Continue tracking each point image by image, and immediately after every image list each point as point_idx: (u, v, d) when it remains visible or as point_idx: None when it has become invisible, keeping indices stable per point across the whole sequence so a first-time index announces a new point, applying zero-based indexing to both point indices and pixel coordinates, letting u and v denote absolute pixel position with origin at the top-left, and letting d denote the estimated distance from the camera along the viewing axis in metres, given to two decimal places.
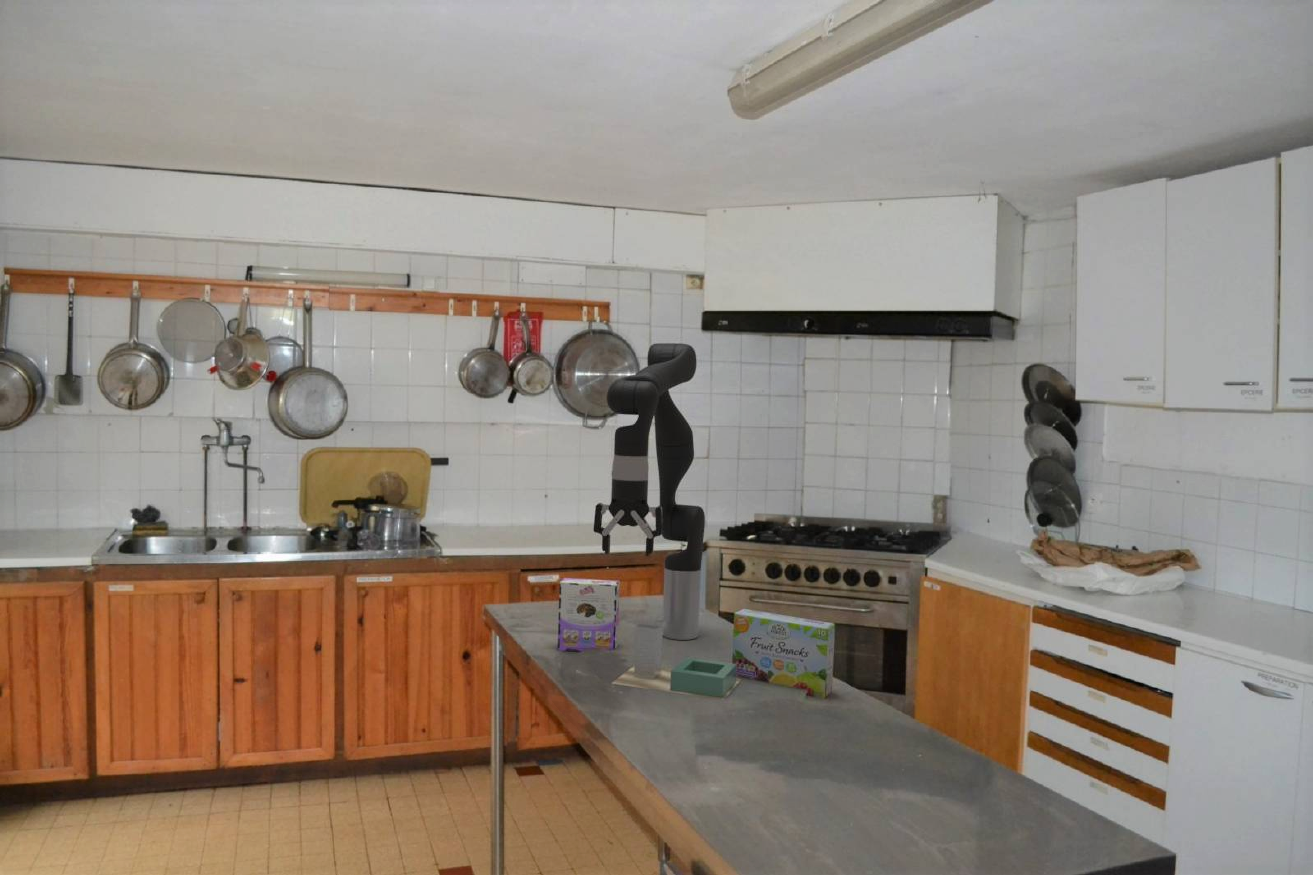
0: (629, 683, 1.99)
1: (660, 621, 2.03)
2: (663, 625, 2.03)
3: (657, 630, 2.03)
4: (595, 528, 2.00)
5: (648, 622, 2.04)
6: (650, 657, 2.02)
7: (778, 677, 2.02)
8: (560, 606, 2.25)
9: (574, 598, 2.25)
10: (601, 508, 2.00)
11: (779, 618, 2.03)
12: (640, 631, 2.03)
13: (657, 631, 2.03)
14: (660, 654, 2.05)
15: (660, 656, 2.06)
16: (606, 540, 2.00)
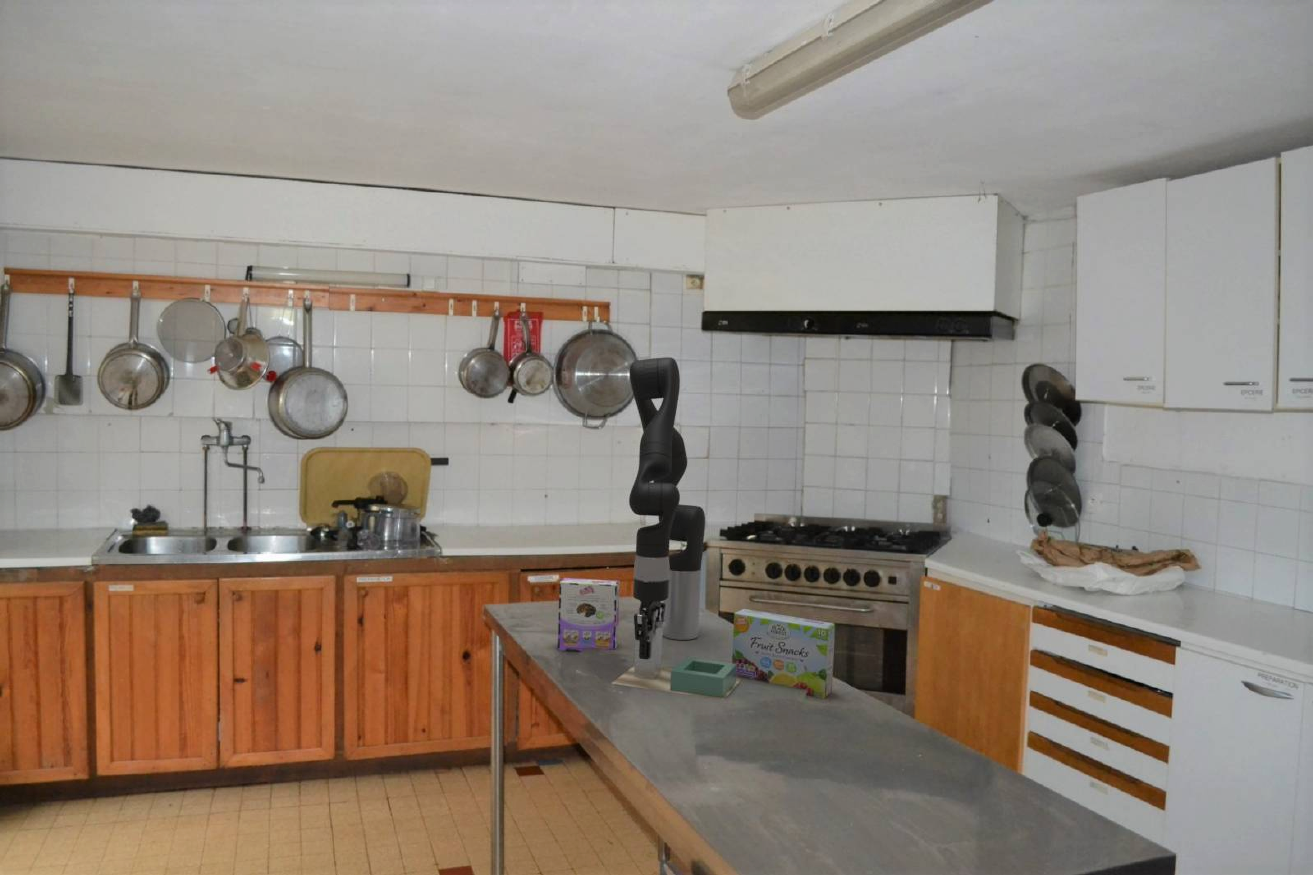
0: (629, 683, 1.99)
1: (660, 621, 2.03)
2: (663, 625, 2.03)
3: (657, 630, 2.03)
4: (647, 637, 2.00)
5: None
6: (650, 657, 2.02)
7: (778, 677, 2.02)
8: (560, 606, 2.25)
9: (574, 598, 2.25)
10: None
11: (779, 618, 2.03)
12: None
13: (657, 631, 2.03)
14: (660, 654, 2.05)
15: (660, 656, 2.06)
16: (649, 645, 2.02)
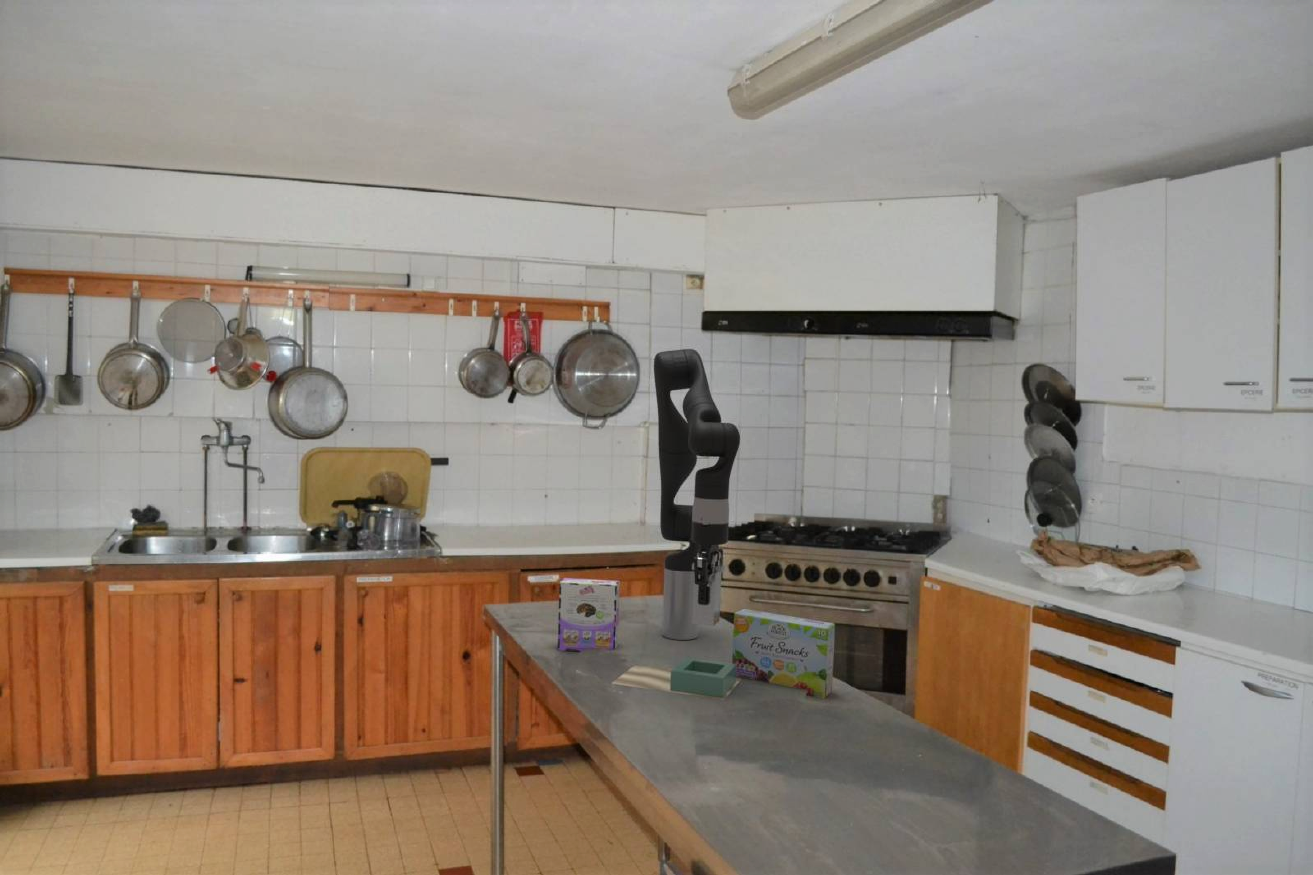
0: (629, 683, 1.99)
1: (719, 566, 1.97)
2: (722, 570, 1.97)
3: (716, 575, 1.96)
4: (707, 581, 1.93)
5: None
6: (709, 602, 1.96)
7: (778, 677, 2.02)
8: (560, 606, 2.25)
9: (574, 598, 2.25)
10: None
11: (779, 618, 2.03)
12: None
13: (716, 576, 1.96)
14: (718, 600, 1.99)
15: (719, 602, 1.99)
16: (709, 591, 1.95)
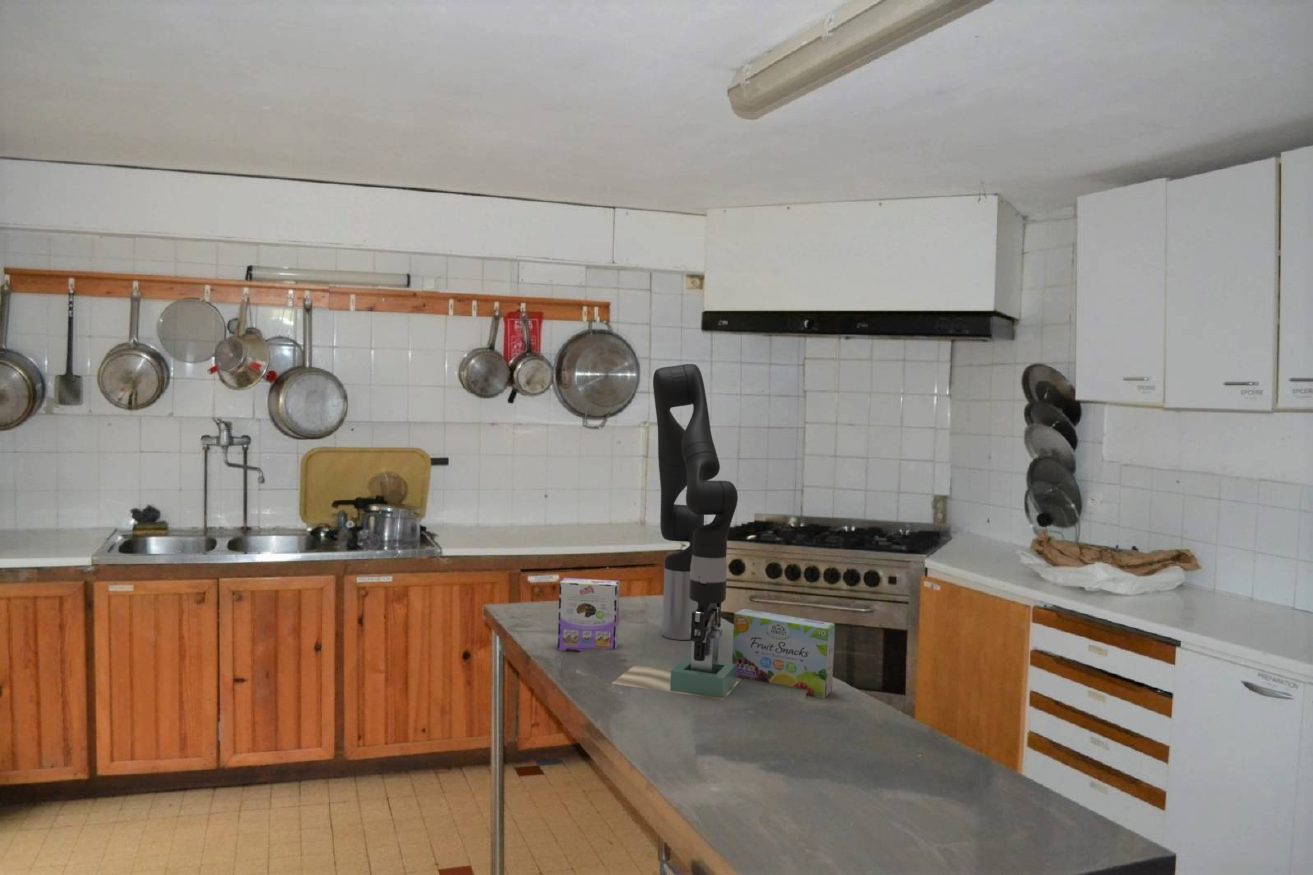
0: (629, 683, 1.99)
1: (717, 630, 1.98)
2: (720, 634, 1.97)
3: (714, 640, 1.97)
4: (702, 638, 1.92)
5: None
6: (707, 667, 1.96)
7: (778, 677, 2.02)
8: (560, 606, 2.25)
9: (574, 598, 2.25)
10: None
11: (779, 618, 2.03)
12: None
13: (714, 641, 1.97)
14: (716, 664, 1.99)
15: (716, 666, 2.00)
16: (705, 647, 1.94)
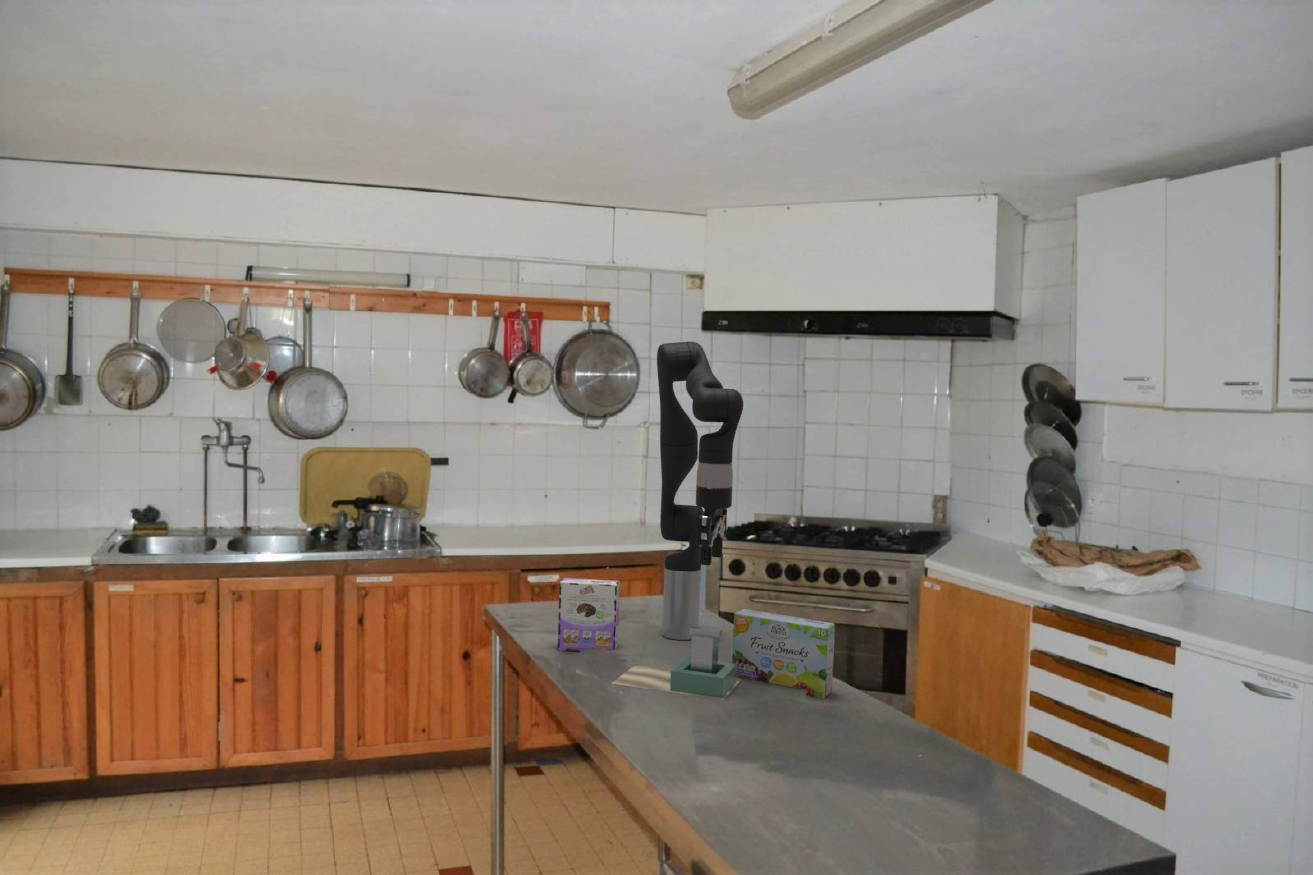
0: (629, 683, 1.99)
1: (717, 630, 1.98)
2: (720, 634, 1.97)
3: (714, 640, 1.97)
4: (709, 541, 1.95)
5: (705, 632, 1.98)
6: (707, 667, 1.96)
7: (778, 677, 2.02)
8: (560, 606, 2.25)
9: (574, 598, 2.25)
10: None
11: (779, 618, 2.03)
12: (696, 641, 1.97)
13: (714, 641, 1.97)
14: (716, 664, 1.99)
15: (716, 666, 2.00)
16: (711, 551, 1.97)
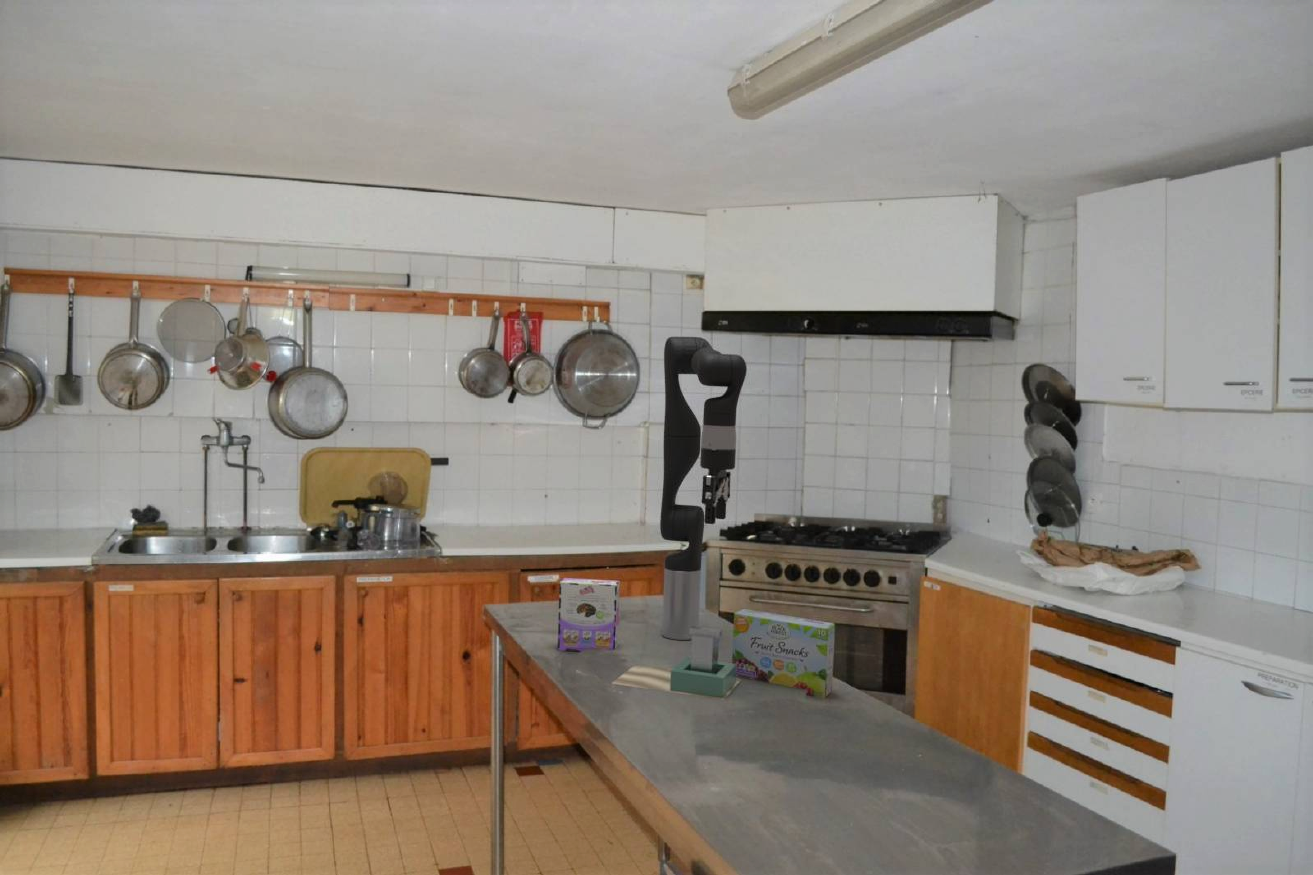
0: (629, 683, 1.99)
1: (717, 630, 1.98)
2: (720, 634, 1.97)
3: (714, 640, 1.97)
4: (713, 500, 2.01)
5: (705, 632, 1.98)
6: (707, 667, 1.96)
7: (778, 677, 2.02)
8: (560, 606, 2.25)
9: (574, 598, 2.25)
10: None
11: (779, 618, 2.03)
12: (696, 641, 1.97)
13: (714, 641, 1.97)
14: (716, 664, 1.99)
15: (716, 666, 2.00)
16: (715, 510, 2.04)
